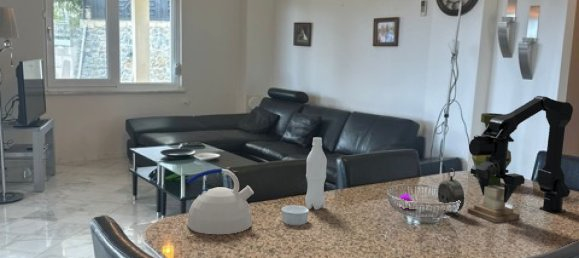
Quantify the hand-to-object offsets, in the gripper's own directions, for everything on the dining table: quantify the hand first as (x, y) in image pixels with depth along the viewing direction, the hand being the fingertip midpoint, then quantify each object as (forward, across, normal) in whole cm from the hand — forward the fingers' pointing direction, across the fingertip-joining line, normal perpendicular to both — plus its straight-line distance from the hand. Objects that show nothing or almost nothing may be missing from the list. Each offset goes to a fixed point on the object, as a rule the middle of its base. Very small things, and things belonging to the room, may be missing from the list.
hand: (494, 198), depth 187 cm
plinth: (+6, 0, 0) cm, 6 cm away
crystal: (+6, -20, -22) cm, 31 cm away
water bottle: (+6, -32, -53) cm, 62 cm away
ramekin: (+6, -21, -67) cm, 70 cm away
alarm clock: (+6, -8, -13) cm, 16 cm away
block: (+3, 0, 0) cm, 3 cm away
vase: (+6, -35, +37) cm, 51 cm away
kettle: (+6, -28, -90) cm, 95 cm away
